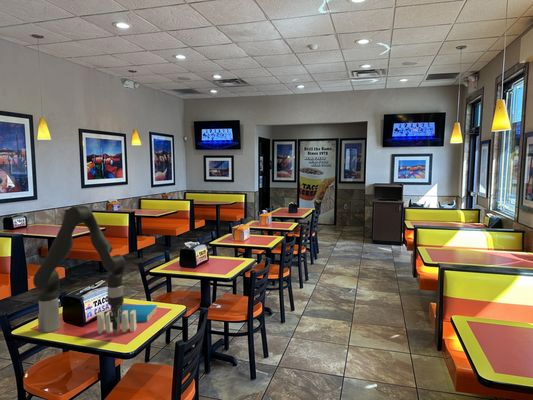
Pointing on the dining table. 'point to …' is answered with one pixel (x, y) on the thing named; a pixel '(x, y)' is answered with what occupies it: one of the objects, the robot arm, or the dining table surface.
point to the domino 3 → (117, 324)
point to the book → (140, 311)
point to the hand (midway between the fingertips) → (116, 326)
